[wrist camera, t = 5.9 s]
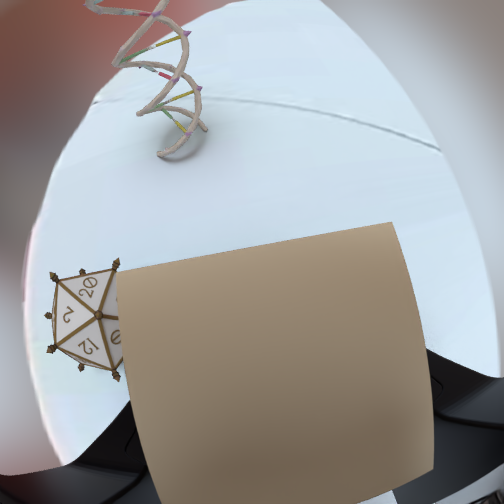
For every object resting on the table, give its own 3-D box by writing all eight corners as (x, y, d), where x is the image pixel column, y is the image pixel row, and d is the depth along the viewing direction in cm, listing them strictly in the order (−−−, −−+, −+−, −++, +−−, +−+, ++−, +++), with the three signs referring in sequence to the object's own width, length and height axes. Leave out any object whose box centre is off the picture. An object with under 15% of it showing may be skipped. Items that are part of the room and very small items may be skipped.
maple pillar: (309, 380, 14) (433, 468, 2) (238, 394, 14) (170, 524, 2) (296, 312, 15) (391, 221, 4) (226, 326, 15) (116, 272, 3)
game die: (124, 314, 24) (58, 240, 19) (191, 310, 21) (116, 213, 16) (90, 392, 18) (1, 322, 12) (158, 412, 15) (37, 328, 9)
